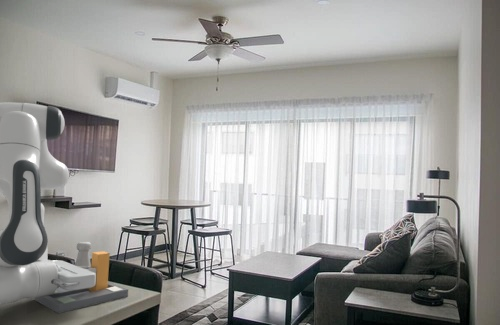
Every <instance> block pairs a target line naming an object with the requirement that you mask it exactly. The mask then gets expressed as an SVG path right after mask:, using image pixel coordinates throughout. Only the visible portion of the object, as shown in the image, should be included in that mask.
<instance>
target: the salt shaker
mask: <svg viewBox="0 0 500 325" xmlns="http://www.w3.org/2000/svg"><path fill="white" fill-rule="evenodd" d="M91 249H92V243H91V242H90V241H80V242H78V243H76V250H78V252H77V255H76V260H75V264H74V265H75V266H79V267H88V266H91V263H92V262H91V257H90V250H91Z"/></svg>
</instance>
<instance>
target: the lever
mask: <svg viewBox="0 0 500 325" xmlns="http://www.w3.org/2000/svg"><path fill="white" fill-rule="evenodd" d="M110 254H111V253H110V252H107V251H104V250H101V251H93V252H91V262H90V263H91V266H92V267H94V268H96V269H97V271H96V283H95V286H93V287H91V288H90V291H92V292H93V291H97V290H102V289H106V288H107V287H108V282H109V272H110V271H109V268H110V256H111V255H110Z"/></svg>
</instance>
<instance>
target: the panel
mask: <svg viewBox="0 0 500 325" xmlns="http://www.w3.org/2000/svg"><path fill="white" fill-rule="evenodd" d="M128 296H129V289H128V288H126V287H123V286H121V285H118V284H115V283H112V282H110V281H108V287H107V288H106V289H102V290H97V291H93V292H92V291H90V288H86V289H79V290H64V289H62V288H60V287H59V288H57V289H56V291H55V292H54V293H53V294H51V295H46V296H41V297H36V298H33V300H34V301H35V302H37V303H40V304H41V305H43V306H44V307H46V308H48V309H50V310H52V311H54V312H55V313H57V314H61V313H65V312H70V311H73V310H78V309H81V308H85V307H86V308H87V307H89V306H93V305H97V304H101V303H106V302H109V301H113V300H118V299H123V298H126V297H128Z"/></svg>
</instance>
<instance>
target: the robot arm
mask: <svg viewBox="0 0 500 325" xmlns="http://www.w3.org/2000/svg"><path fill="white" fill-rule="evenodd" d="M65 126H66V123H65V118H64V115H63V113H62V111H61V109H60V108H58V107H56V106H53V105H52V106H51V105H48V106H47V105H43V104H38V103H31V102H15V101H14V102H8V101H5V102H0V192H1V194H2V195H3V196H4V197H5V200H6V202H7V206H8V223H7V225H6V226H5V227H4V228H3V229H1V230H0V305H5V304H6V305H7V304H12V303H16V302H17V301H20V300H23V299H31V300H32V299H34V298H36V297H41V296H46V295H51V294H53V293H54V292H55V291H56V289H57V288H62V289H64V290H79V289H86V288H91V287H93V286H95V283H96V271H97V269H96V268H94V267H92V266H88V267H79V266H75V264H72V263H70V262H67V261H65V260H59V259H58V260H57V259H56V260H53V259H52V260H51V259H48V239H49V238H48V234H47V232H46V227H45V226H44V225H45V211H46V210H45V206H44V204H43V203H42V202H41V201H42V200H41V199H42V198H41V195H42V194H41V190H42V191H43V190H44V191H50V190H51V191H52V190H57V189H58V190H59V189H62V188H64V187H65V186H66V185H67V183H68V182H69V179H70V171H69V168H68V166H67V165H66V164H65V163H64V162H61V160H58V159H56V158H55V157H54V156H53V155H52V154H51V152H50V151H49V148H48V141H51V140H52V141H53V140H57V139H59V138H60V137H61V136H62V133H63V131H64V130H65Z"/></svg>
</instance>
